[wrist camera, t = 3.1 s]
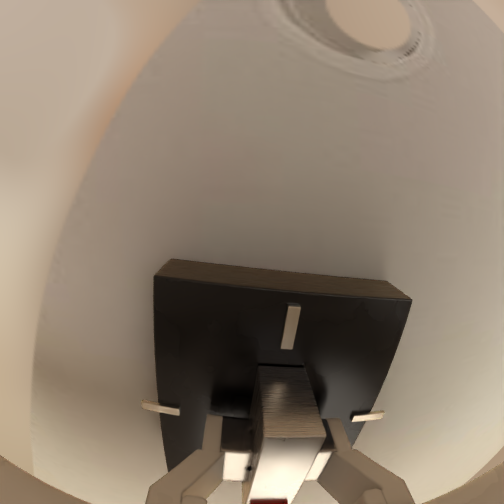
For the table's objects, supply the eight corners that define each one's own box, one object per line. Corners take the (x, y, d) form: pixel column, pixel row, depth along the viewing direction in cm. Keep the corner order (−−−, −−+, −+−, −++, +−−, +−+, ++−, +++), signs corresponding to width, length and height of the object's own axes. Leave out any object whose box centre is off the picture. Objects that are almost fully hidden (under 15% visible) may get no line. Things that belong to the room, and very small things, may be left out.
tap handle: (258, 364, 8) (264, 444, 5) (305, 366, 8) (329, 442, 5) (241, 456, 9) (242, 519, 6) (277, 457, 9) (285, 519, 6)
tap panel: (154, 256, 10) (131, 273, 7) (399, 282, 10) (429, 301, 8) (163, 442, 12) (155, 472, 10) (335, 451, 12) (344, 479, 10)
